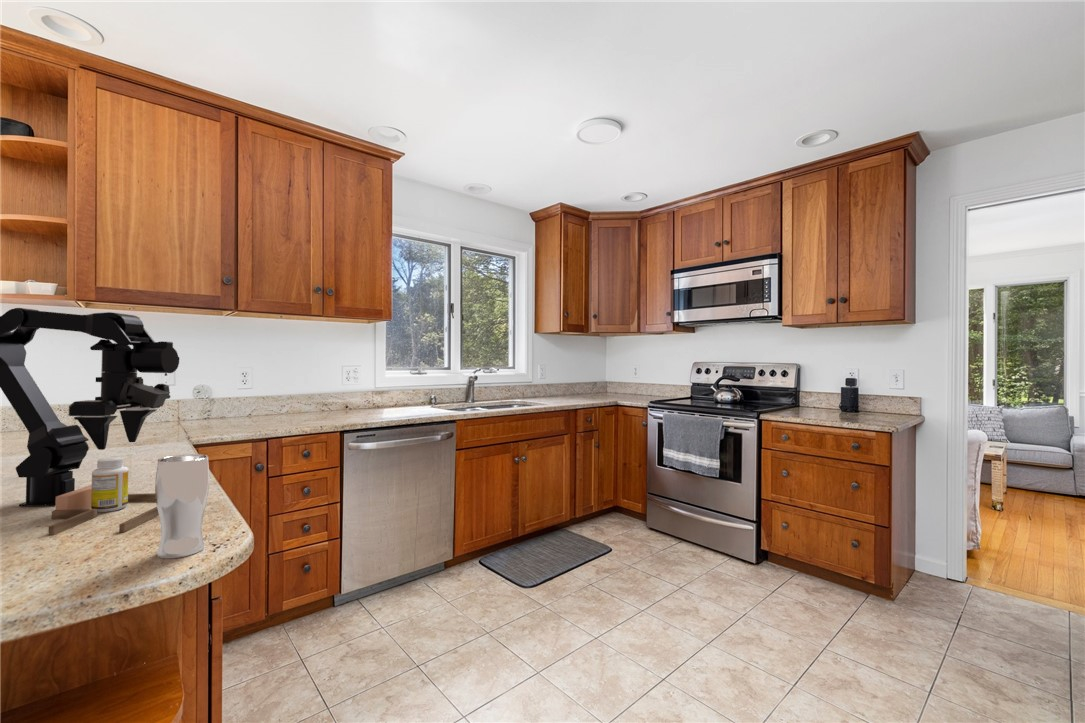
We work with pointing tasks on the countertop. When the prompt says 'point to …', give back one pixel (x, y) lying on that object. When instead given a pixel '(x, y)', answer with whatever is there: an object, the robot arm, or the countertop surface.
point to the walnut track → (83, 515)
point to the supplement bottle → (109, 485)
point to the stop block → (75, 499)
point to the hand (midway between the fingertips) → (117, 445)
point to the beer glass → (181, 503)
